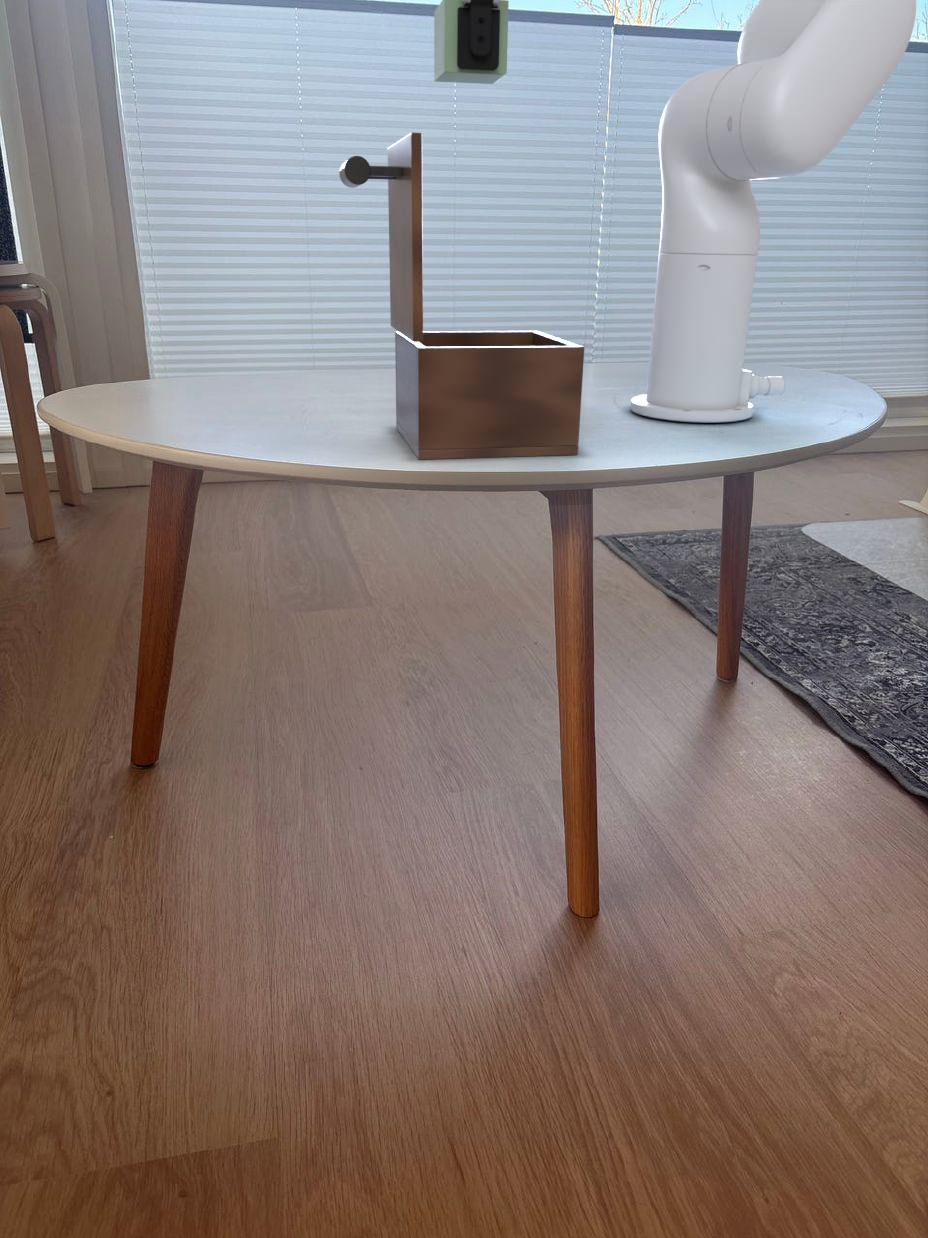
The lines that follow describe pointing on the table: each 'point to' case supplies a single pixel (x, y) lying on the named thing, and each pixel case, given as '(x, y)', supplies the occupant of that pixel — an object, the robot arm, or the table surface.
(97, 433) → the table surface
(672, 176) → the robot arm
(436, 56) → the block
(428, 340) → the chest
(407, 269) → the chest lid
